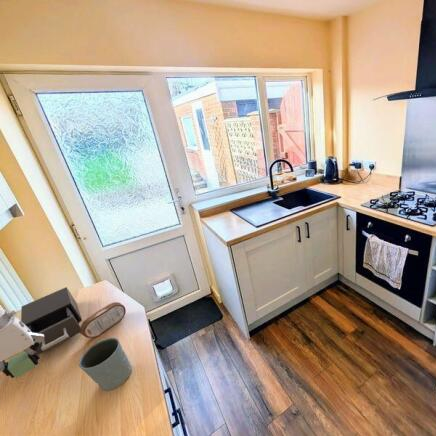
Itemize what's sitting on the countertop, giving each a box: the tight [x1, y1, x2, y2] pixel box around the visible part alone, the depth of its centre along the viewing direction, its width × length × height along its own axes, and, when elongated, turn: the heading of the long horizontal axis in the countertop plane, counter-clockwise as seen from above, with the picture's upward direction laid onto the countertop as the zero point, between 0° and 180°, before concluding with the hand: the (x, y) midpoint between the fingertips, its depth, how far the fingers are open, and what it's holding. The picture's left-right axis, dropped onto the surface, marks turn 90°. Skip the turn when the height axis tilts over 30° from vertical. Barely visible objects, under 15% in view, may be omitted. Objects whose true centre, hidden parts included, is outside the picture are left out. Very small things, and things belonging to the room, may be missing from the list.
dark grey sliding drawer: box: [28, 306, 81, 356], centre depth 92 cm, size 20×13×8 cm, turn 46°
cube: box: [7, 351, 37, 379], centre depth 74 cm, size 4×4×4 cm
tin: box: [79, 301, 127, 339], centre depth 95 cm, size 15×3×8 cm, turn 149°
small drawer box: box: [20, 286, 82, 327], centre depth 101 cm, size 16×15×10 cm
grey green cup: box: [78, 337, 133, 392], centre depth 75 cm, size 10×10×12 cm
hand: (25, 367), depth 75 cm, fingers closed on cube, 4 cm apart
